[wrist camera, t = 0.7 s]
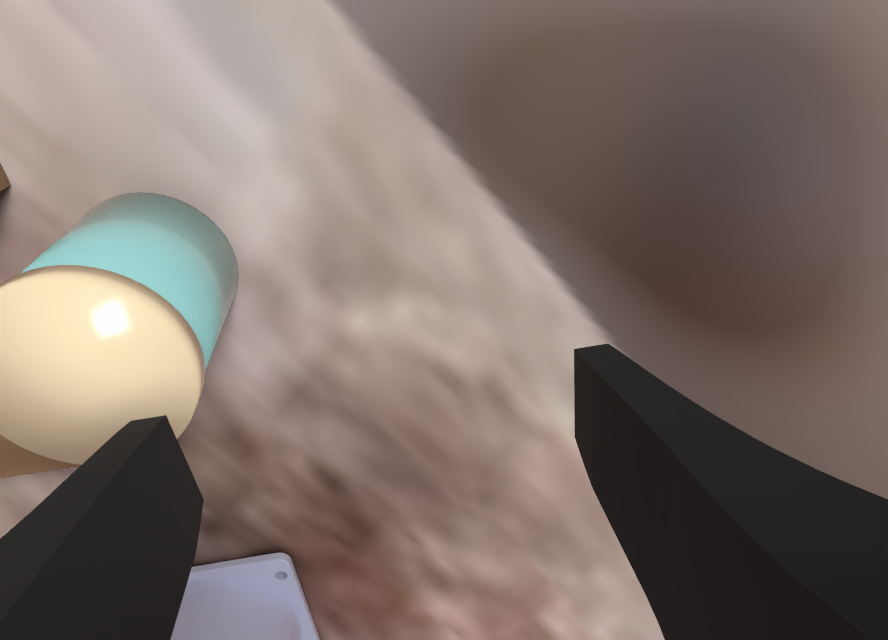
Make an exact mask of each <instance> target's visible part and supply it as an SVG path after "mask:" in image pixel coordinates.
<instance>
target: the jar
mask: <svg viewBox="0 0 888 640" xmlns="http://www.w3.org/2000/svg"><path fill="white" fill-rule="evenodd" d="M237 286H238V265H237V261H236V257H235V254H234V252H233V249H232V247H231V245H230V243H229V241H228V239H227V238H226V236H225V235H224V234H223V232H222V231H221V230H220V229H219V227H218V226H217V225H216V224H215V223H214V222H213V221H212V220H211V219H209V218H208V217H207V216H206V215H205V214H203V213H202V212H200V211H199V210H197V209H196V208H194V207H192V206H191V205H189V204H187V203H185V202H182V201H180V200H177V199H175V198H172V197H168V196H165V195H160V194H154V193H129V194H124V195H119V196H116V197H113V198H110V199H108V200H106V201H104V202H102V203H100V204H98V205H97V206H96V207H94V208H93V209H92V210H90V211H89V212H88V213H87V214H86V215H85V216H84V217H83V218H81V219H80V220H79V221H78V222H77V223H76V224H75V225H74V226H73V227H71V228H70V229H69V230H68V231H67V232H66V233H65V234H64V235H62V236H61V237H60V238H59V239H58V240H57V241H56V242H55V243H54V244H52V245H51V246H50V247H49V248H48V249H47V250H46V251H45V252H43V253H42V254H41V255H40V256H39V257H38V258H37V259H36V260H35V261H33V262H32V263H31V264H30V265H29V266H28V267H27V268H26V269H24V270H23V271H22V272H21V273H20V274H18V275H16V276H14V277H12V278H10V279H8V280H6V281H5V282H4V283H2V284H1V285H0V434H1V435H2V436H4V437H5V438H6V439H8V440H10V441H11V442H13V443H15V444H17V445H18V446H20V447H22V448H24V449H27V450H29V451H31V452H33V453H36V454H39V455H41V456H44V457H47V458H50V459H54V460H58V461H62V462H67V463H73V464H79V465H82V464H83V463H84V462H85V461H86V460H87V459H88V458H90V457H91V456H92V455H93V454H94V453H95V452H96V451H97V450H98V449H99V448H100V447H101V446H102V445H103V444H105V443H106V442H107V441H108V440H109V439H110V438H111V437H112V436H113V435H114V434H116V433H117V432H118V431H119V430H120V429H121V428H123V427H124V426H125V425H126V424H127V423H129V422H130V421H133V420H139V419H145V418H151V417H158V416H164V415H166V416H167V418H168V420H169V423H170V425H171V427H172V429H173V432H174V434H175V436H176V439H177V438H178V437H179V436H180V435H181V434H182V433H183V431H184V430H185V429H186V427H187V426H188V424H189V423H190V421H191V419H192V416H193V414H194V411H195V409H196V406H197V403H198V401H199V398H200V396H201V393H202V390H203V386H204V381H205V371H206V368H207V366H208V363H209V361H210V358H211V355H212V353H213V350H214V348H215V345H216V343H217V340H218V337H219V335H220V332H221V330H222V327H223V325H224V322H225V319H226V317H227V314H228V312H229V309H230V307H231V304H232V301H233V299H234V296H235V294H236V290H237Z"/></svg>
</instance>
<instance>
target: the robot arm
mask: <svg viewBox="0 0 888 640" xmlns="http://www.w3.org/2000/svg"><path fill="white" fill-rule="evenodd" d="M574 384H575V439H576V442H577V445H578V448H579V451H580V454H581V457H582V460H583V463H584V465H585V468H586V471H587V474H588V477H589V479H590V482H591V485H592V487H593V489H594V491H595V494H596V496H597V498H598V500H599V502H600V504H601V506H602V508H603V510H604V512H605V514H606V516H607V518H608V520H609V522H610V524H611V526H612V528H613V530H614V532H615V534H616V536H617V538H618V540H619V542H620V544H621V546H622V548H623V550H624V552H625V554H626V556H627V558H628V560H629V562H630V564H631V566H632V568H633V570H634V572H635V574H636V576H637V578H638V580H639V582H640V584H641V586H642V588H643V590H644V592H645V594H646V596H647V598H648V601H649V603H650V605H651V607H652V610H653V612H654V614H655V616H656V618H657V621H658V623H659V626H660V628H661V631H662V633H663V636H664V639H665V640H888V499H885V498H883V497H880V496H878V495H875V494H873V493H870V492H868V491H866V490H863V489H861V488H858V487H856V486H853V485H851V484H848V483H846V482H844V481H842V480H839V479H837V478H835V477H832V476H830V475H828V474H826V473H823V472H821V471H819V470H817V469H815V468H813V467H811V466H809V465H807V464H804V463H802V462H801V461H798V460H796V459H794V458H792V457H790V456H788V455H786V454H784V453H782V452H780V451H778V450H776V449H774V448H772V447H770V446H768V445H766V444H765V443H763V442H761V441H759V440H757V439H755V438H753V437H751V436H750V435H748V434H746V433H745V432H743V431H741V430H739V429H737V428H736V427H734V426H732V425H731V424H729V423H727V422H725V421H724V420H722V419H720V418H719V417H717V416H715V415H714V414H712V413H710V412H709V411H707V410H705V409H704V408H702V407H701V406H699V405H698V404H696V403H694V402H693V401H691V400H690V399H688V398H687V397H685V396H684V395H682V394H681V393H679V392H678V391H676V390H674V389H673V388H671V387H670V386H669V385H667V384H665V383H664V382H663V381H661V380H660V379H658V378H657V377H655V376H654V375H652V374H651V373H650V372H648V371H647V370H645V369H644V368H642V367H641V366H640V365H638V364H637V363H635V362H634V361H632V360H631V359H630V358H628V357H627V356H625V355H624V354H622V353H621V352H620V351H618V350H617V349H615V348H614V347H612V346H611V345H609V344H603V345H597V346H591V347H584V348H578V349H574ZM202 506H203V497H202V495H201V493H200V490H199V488H198V486H197V484H196V481H195V479H194V477H193V475H192V472H191V470H190V468H189V466H188V463H187V461H186V459H185V457H184V454H183V452H182V450H181V448H180V445H179V443H178V441H177V439H176V436H175V434H174V432H173V429H172V427H171V425H170V423H169V420H168V418H167V416H166V415H164V416H158V417H151V418H145V419H139V420H133V421H130V422H129V423H127V424H126V425H125V426H124V427H123V428H121V429H120V430H119V431H118V432H117V433H116V434H114V435H113V436H112V437H111V438H110V439H109V440H108V441H107V442H106V443H105V444H103V445H102V446H101V447H100V448H99V449H98V450H97V451H96V452H95V453H94V454H93V455H92V456H91V457H90V458H88V459H87V460H86V461H85V462H84V463H83V464H82V465H81V466H80V467H79V468H78V469H77V470H76V471H75V472H74V473H73V474H71V475H70V476H69V477H68V478H67V479H66V480H65V481H64V482H63V483H62V484H61V485H60V486H59V487H58V488H56V489H55V490H54V491H53V492H52V493H51V494H50V495H49V496H48V497H47V498H46V499H45V500H44V501H43V502H41V503H40V504H39V505H38V506H37V507H36V508H35V509H34V510H33V511H32V512H31V513H29V514H28V515H27V516H26V517H25V518H24V519H23V520H21V521H20V522H19V523H18V524H17V525H16V526H15V527H13V528H12V529H11V530H10V531H9V532H8V533H7V534H5V535H4V536H3V537H2V538H1V539H0V640H320V639H319V636H318V633H317V630H316V627H315V624H314V622H313V619H312V616H311V613H310V610H309V608H308V605H307V602H306V599H305V596H304V593H303V591H302V588H301V585H300V582H299V579H298V577H297V574H296V571H295V568H294V565H293V563H292V560H291V558H290V556H288V555H287V554H285V553H272V554H266V555H260V556H254V557H248V558H242V559H236V560H230V561H224V562H218V563H212V564H206V565H200V566H194V567H192V564H193V561H194V557H195V553H196V547H197V541H198V535H199V529H200V522H201V514H202Z"/></svg>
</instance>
